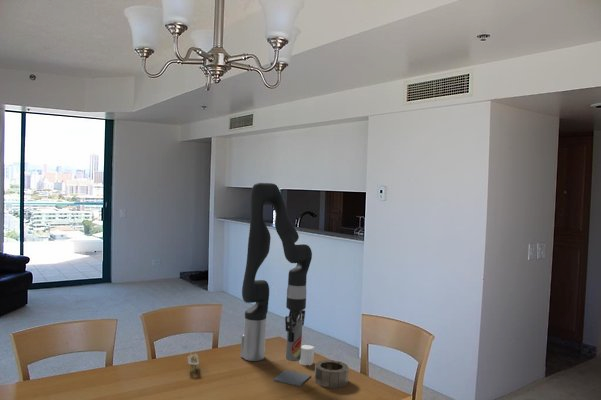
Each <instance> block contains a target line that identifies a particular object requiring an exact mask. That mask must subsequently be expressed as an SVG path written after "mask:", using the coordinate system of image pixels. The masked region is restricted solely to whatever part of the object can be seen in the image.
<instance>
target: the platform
mask: <svg viewBox="0 0 601 400" xmlns="http://www.w3.org/2000/svg"><path fill="white" fill-rule="evenodd" d="M187 364H189V365H190V373H191V374H192V372H194V374H196V369H197V365H199V364H200V362H199V355H198V353H194V354H193V353H192V354H189V355H187Z"/></svg>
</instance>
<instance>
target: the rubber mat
mask: <svg viewBox="0 0 601 400" xmlns="http://www.w3.org/2000/svg"><path fill="white" fill-rule="evenodd" d="M311 377H312V375H311V374H306V373H303V372H297V371H293V370H289V369H285V370H284V371H282V372H281V373H280V374H278V375H277V376H276V377H274V378H273V381H274V382H275V381H276V382H280V383H284V384H287V385H292V386H297V387H301V386H302V385H304V383H305V382H307V380H309V379H310V378H311Z"/></svg>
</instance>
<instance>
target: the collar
mask: <svg viewBox="0 0 601 400" xmlns="http://www.w3.org/2000/svg"><path fill="white" fill-rule="evenodd" d="M313 380H314V383H315V384H316V385H318V386H320V387H323V388H328V389H340V388H344V387H346V386H347V385H348V382H349V366H348V364H346V363H345V362H342V361H339V360H334V359H332V360H331V359H324V360H319V361H317V362H315V364H314V377H313Z"/></svg>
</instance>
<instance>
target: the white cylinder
mask: <svg viewBox="0 0 601 400" xmlns="http://www.w3.org/2000/svg"><path fill="white" fill-rule="evenodd" d="M315 350H316V346H314V345H312V344H301V358H300V360H299V361H298V363H299V364H300V365H301V366H304V367H305V366H306V365H309V366H311V365H312V366H313V364H314V356H315Z"/></svg>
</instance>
